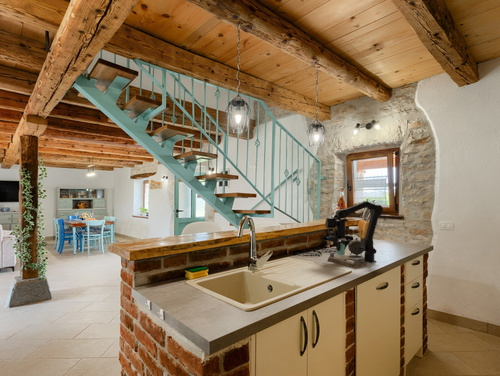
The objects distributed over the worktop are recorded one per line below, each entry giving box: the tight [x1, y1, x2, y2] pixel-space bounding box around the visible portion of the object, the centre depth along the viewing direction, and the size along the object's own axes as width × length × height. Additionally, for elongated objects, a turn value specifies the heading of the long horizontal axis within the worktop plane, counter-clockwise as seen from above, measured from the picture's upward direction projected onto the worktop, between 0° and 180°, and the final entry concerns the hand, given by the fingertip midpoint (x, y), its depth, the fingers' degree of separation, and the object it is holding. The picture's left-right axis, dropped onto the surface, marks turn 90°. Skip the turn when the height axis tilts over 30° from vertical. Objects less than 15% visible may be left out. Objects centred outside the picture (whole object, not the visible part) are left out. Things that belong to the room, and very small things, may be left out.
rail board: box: [327, 251, 368, 269], centre depth 188 cm, size 12×22×5 cm, turn 29°
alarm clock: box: [347, 233, 364, 257], centre depth 210 cm, size 11×5×16 cm, turn 84°
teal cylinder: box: [334, 243, 349, 260], centre depth 192 cm, size 7×6×10 cm
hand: (340, 251), depth 192 cm, fingers open, 5 cm apart
